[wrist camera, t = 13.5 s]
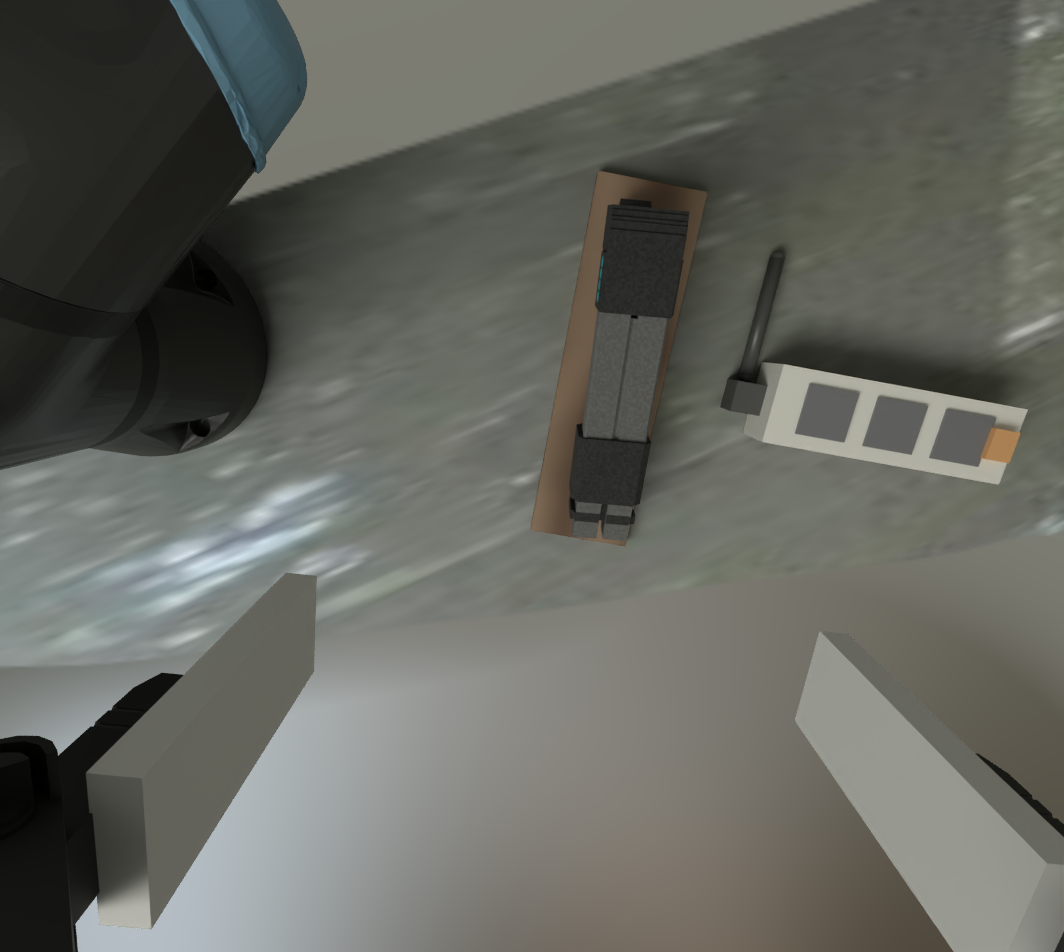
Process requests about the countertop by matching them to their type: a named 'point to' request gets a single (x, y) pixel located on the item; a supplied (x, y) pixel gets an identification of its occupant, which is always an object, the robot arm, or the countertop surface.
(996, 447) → the power strip
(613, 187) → the walnut board
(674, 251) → the gun
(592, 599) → the countertop surface
